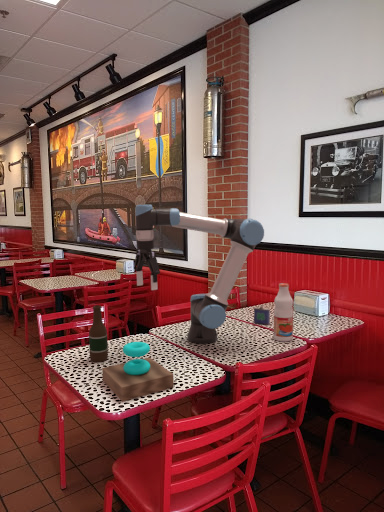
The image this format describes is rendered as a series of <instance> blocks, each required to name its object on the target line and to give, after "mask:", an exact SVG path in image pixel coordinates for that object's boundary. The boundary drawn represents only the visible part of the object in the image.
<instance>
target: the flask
mask: <svg viewBox="0 0 384 512" xmlns="http://www.w3.org/2000/svg"><path fill="white" fill-rule="evenodd" d="M270 312H271V310H270V308H264V305H260V306H257V307H254V308H253V324H254V325H255V324H256V325H263V326H269V325H271V323H270V316H271V313H270Z"/></svg>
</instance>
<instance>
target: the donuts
mask: <svg viewBox="0 0 384 512" xmlns="http://www.w3.org/2000/svg"><path fill="white" fill-rule="evenodd" d="M150 349H151V346H150V345H149V343H147V342H144V341H131V342H128V343H126V344H125V345H123V347H122V352H123V354H124V356H126V357H127V356H128V357H131V358H134V359H130V360H128V361H126V362H124V363H125V364H124V367H123V369H124V371H125V372H126V373H127V374H130V375H141V374H144V373H146V372H148V371H149V370H150V363H149V362H148V361H146V360H144V358H140V357H143V356H146V355H147V354H149V352H150Z"/></svg>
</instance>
